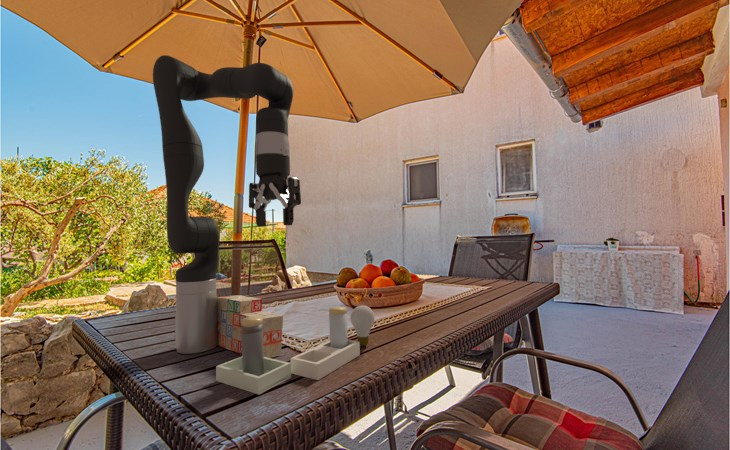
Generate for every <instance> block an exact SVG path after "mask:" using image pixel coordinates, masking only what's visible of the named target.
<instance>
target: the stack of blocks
mask: <svg viewBox="0 0 730 450" xmlns="http://www.w3.org/2000/svg"><path fill="white" fill-rule="evenodd" d="M248 317H262V318H263V353H264V357H267V358H271V359H273V358H275V357H279V356H282V341H283V326H284V315H282V314H277V313H273V312H268V311H263V298H259V297H253V296H244V295H240V294H239V295H237V294H236V295H235V294H234V295H227V296H217V346H219V347H221V348H224V349H226V350H229V351H233V352H235V353H237V354H240V355H242V336H241V320H242V319H244V318H248Z"/></svg>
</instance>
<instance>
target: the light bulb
mask: <svg viewBox="0 0 730 450" xmlns="http://www.w3.org/2000/svg"><path fill="white" fill-rule="evenodd" d="M350 322H351V325H352V326H353V328H354V330H355V333H356V336H357V342H360V347H362V348H365V347H366V346H367V345H368V344H369V340H370V338H369V335H370V333H371V329H372V327H373V324H374V322H375V312H374V311H373V310H372V308H370V307H369V306H367V305H358V306H356V307H355V308H354V309H353V310H352V311H351V314H350Z"/></svg>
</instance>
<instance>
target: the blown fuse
mask: <svg viewBox="0 0 730 450" xmlns="http://www.w3.org/2000/svg"><path fill="white" fill-rule="evenodd" d="M241 336H242V354H241V356H242V372H246V373H249V374H253V375H256V376H261V375H263V374H264V353H263V318H262V317H248V318H244V319H242V320H241Z"/></svg>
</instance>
